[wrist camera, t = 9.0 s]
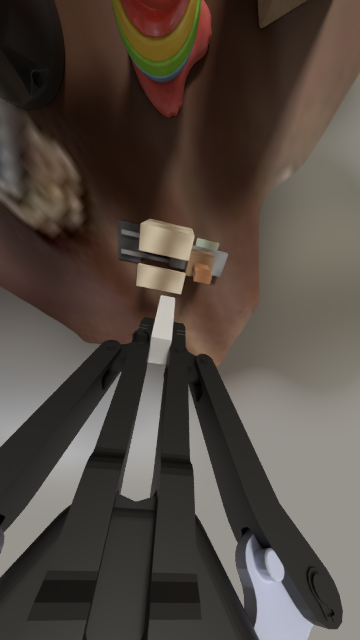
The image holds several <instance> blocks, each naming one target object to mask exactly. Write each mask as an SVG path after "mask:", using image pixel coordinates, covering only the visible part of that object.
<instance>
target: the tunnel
mask: <svg viewBox="0 0 360 640" xmlns="http://www.w3.org/2000/svg"><path fill="white" fill-rule="evenodd" d="M193 241H194V233H193V229H191V228H187V227H183V226H179V225H174V224H170V223H166V222H162V221H158V220H153V219H148V220H146V221H144V222H142V223H141V225H140V224H136V223H131V222H127V221H123V220H119V258H118V259H123V260H127V261H132V262H137V263H139V264H138V270H137V284H136V286H141V287H146V288H151V289H156V290H161V291H166V292H172V293H177V294H181V292H182V288H183V283H184V279H185V275H186V273H184V272H179V271H174V270H170V269H165V268H160V267H155V266H151V265H146V264H141V258H146V259H151V260H156V261H160V262H165V263H170V259H169V258H164V257H160V256H155V255H151V254H146V253H142V251H145V252H150V253H155V254H159V255H164V256H168V257H173V258H177V259H182V260H187V261H189V258H190V254H191V249H192V245H193ZM194 246H199V247H203V248H207V249H212V250H216V251H217V249H218V246H219V243H217V242H212V241H208V240H204V239H200V238H197V241H196V245H194Z"/></svg>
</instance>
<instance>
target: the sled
mask: <svg viewBox="0 0 360 640" xmlns="http://www.w3.org/2000/svg"><path fill="white" fill-rule="evenodd" d="M227 257H228V253H225V252H220V251H216V250H212V249H207V248H203V247H199V246H194V245H192V249H191V254H190V258H189V261H187V260H182V259H177V258H173V257H171V259H170V265H169V266H170V267H175V268H180V269H185V273H186V275H187V276H192V277H193V281H195V282H200V283H205V284H209V285H210V282H211V279H212V275H213V276H217V277H220V276H221V274H222V271H223V268H224V265H225V262H226V259H227Z"/></svg>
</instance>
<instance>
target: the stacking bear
mask: <svg viewBox="0 0 360 640" xmlns="http://www.w3.org/2000/svg"><path fill="white" fill-rule="evenodd" d="M112 5H113V10H114V15H115V19H116V22H117V26H118V29H119V32H120V35H121V38H122V41H123V43H124V45H125V48H126V50H127V52H128V54H129V55H130V57H131V59H132V63H133V66H134V69H135V72H136V74H137V77H138V79H139V82H140V84H141V86H142V88H143V90H144V92H145V93H146V95H147V97H148V98H149V100H150V101H151V102H152V104H153V105H154V106H155V107H156V108H157V110H158V111H159V112H160V113H162V114H163V115H164V116H166V117H168V118H170V117H171V116H176V115H177V114H178V111H179V109H181V107H182V105H183V94H184V86H185V81H186V78H187V75H188V73H189V71H190V69H191V67H192V66H193V65H194V64H195V63H196V62H197V61H198V60H199V59H201V58H202V57H203V56H204V55H205V54H206V52H207V49H208V44H209V43H210V41H211V36H212V29H211V14H210V11H209V9H208V7H207V5H206V3H205V1H204V0H112Z"/></svg>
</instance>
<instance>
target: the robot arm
mask: <svg viewBox="0 0 360 640" xmlns="http://www.w3.org/2000/svg"><path fill="white" fill-rule="evenodd" d="M63 71H64V42H63V35H62V29H61V24H60V19H59V15H58V12H57V8H56V5H55V2H54V0H0V97H1V98H2V99H4V100H6V101H8V102H9V103H11V104H13V105H15V106H18V107H20V108H24V109H39V108H42V107H44V106H46V105H47V104H49V103H50V102H51V101H52V100H53V98H54V97H55V96H56V94H57V92H58V90H59V87H60V85H61V81H62V77H63ZM174 307H175V298H174V297H168V296H163V295H161V297H160V301H159V305H158V310H157V314H156V318H155V319H152V318H146V317H145V318H143V319H142V320H141V323H140V326H139V329H138V330H136V331H135V332H134V333H133V339H132V342H131V343H128V344H120V343H119V342H118V341H116V340H108V341H105V342H103V343H102V344H101V345H100V346H99V347H98V348H97V349H96V350H95V351H94V352H93V353H92V354H91V355H90V356H89V358H87V359H86V360H85V362H83V363H82V365H81V366H80V367H79V368H78V369H77V370H76V371H75V372H74V373H73V374H72V375H71V376H70V377H69V378H68V379H67V380H66V381H65V382H64V383H63V384H62V385H61V386H60V387H59V388H58V389H57V390H56V391H55V392H54V393H53V394H52V395H51V396H50V397H49V398H48V399H47V400H46V401H45V402H44V403H43V404H42V405H41V406H40V407H39V408H38V409H37V410H36V411H35V412H34V413H33V414H32V415H31V416H30V417H29V418H28V420H27V421H26V422H25V423H24V424H23V425H22V426H21V427H20V428H19V429H18V430H17V431H16V432H15V433H14V434H13V435H12V436H11V437H10V438H9V439H8V440H7V441H6V442H5V443H4V444H3V445H2V446H1V447H0V553H1V550H2V547H3V544H4V532H5V530H6V529H7V528H8V527H9V526H10V525H11V524H12V523H13V522H14V520H15V519H16V518H17V517H18V516H19V514H20V513H21V512H22V511H23V510H24V509H25V507H26V506H27V505H28V503H29V502H30V500H31V499H32V498H33V496H34V495H35V494H36V492H37V491H38V490H39V488H40V487H41V485H42V484H43V482H44V481H45V479H46V478H47V477H48V475H49V474H50V472H51V471H52V469H53V468H54V466H55V465H56V464H57V462H58V461H59V459H60V458H61V456H62V455H63V453H64V452H65V451H66V449H67V448H68V446H69V445H70V443H71V441H73V439H74V438H75V436H76V435H77V433H78V432H79V430H80V429H81V427H82V426H83V425H84V423H85V422H86V420H87V419H88V417H89V416H90V415H91V413H92V412H93V410H94V409H95V407H96V406H97V405H98V403H99V402H100V400H101V399H102V397H103V396H104V394H105V393H106V392H107V390H108V389H109V387H110V386H111V384H112V383H113V382H114V380H115V379H116V377H117V376H118V374H119V373H120V372H122V373H121V376H120V379H119V381H118V384H117V387H116V390H115V393H114V396H113V398H112V401H111V404H110V407H109V410H108V412H107V416H106V418H105V421H104V424H103V427H102V429H101V432H100V435H99V438H98V441H97V444H96V447H95V449H94V452H93V453H92V454H91V456H90V457H89V459H88V461H87V464H86V466H85V469H84V472H83V474H82V477H81V480H80V483H79V485H78V488H77V491H76V493H75V496H74V499H73V502H72V504H71V505H70V506H69V507H67V508H66V509H65V510H64V511H63V512H61V513H60V514H59V515H58V516H57V517H56V518H55V519H54V521H52V523H51V524H50V525H49V526H48V527H47V528H46V529H45V530H44V531H43V532H42V533H41V534H40V535H39V536H38V538H37V539H36V540H35V541H34V542H33V543H32V544H31V545H30V546H29V547H28V548H27V549H26V550H25V552H24V553H23V554H22V555H21V556H20V557H19V558H18V559H17V560H16V561H15V562H14V563H13V564H12V566H11V567H10V568H9V569H8V570H7V571H6V572H5V573H4V574H3V575H2V576H1V577H0V640H307V639H308V636H309V633H310V631H311V628H312V626H313V625H317V626H321V627H324V628H327V629H338V627H339V626H340V624H341V623H342V613H343V610H342V605H341V600H340V595H339V593H338V590H337V588H336V585H335V583H334V581H333V579H332V577H331V576H330V574H329V572H328V571H327V569H326V567H325V566H324V565H323V563H322V562H321V560H320V559H319V558H318V556H317V555H316V554H315V552H314V551H313V549H312V548H311V547H310V545H309V544H308V542H307V541H306V540H305V538H304V537H303V535H302V534H301V533H300V531H299V530H298V528H297V527H296V526H295V524H294V523H293V521H292V520H291V519H290V518H289V516H288V515H287V513H286V512H285V510H284V509H283V508H282V506H281V505H280V504H279V502H278V499H277V497H276V495H275V493H274V491H273V489H272V486H271V484H270V482H269V480H268V478H267V476H266V474H265V471H264V469H263V467H262V465H261V463H260V461H259V458H258V457H257V454H256V452H255V450H254V448H253V446H252V443H251V441H250V439H249V437H248V435H247V433H246V431H245V429H244V426H243V424H242V422H241V420H240V418H239V416H238V414H237V411H236V409H235V407H234V405H233V403H232V401H231V399H230V396H229V394H228V392H227V390H226V388H225V386H224V383H223V381H222V379H221V377H220V375H219V373H218V370H217V368H216V366H215V364H214V362H213V360H212V358H211V357H209V356H208V355H206V354H199V355H198V356H195V355H193V354H191V353H189V352H188V351H187V348H186V342H185V326H184V325H183V324H182V323H176V322H173V319H174ZM148 362H150V363H158V364H163V365H166V368H165V372H164V383H163V393H162V401H161V410H160V420H159V429H158V438H157V446H156V456H155V465H154V474H153V480H152V485H151V493H150V498H147V499H144V500H141V501H137V502H135V501H133V500H131V499H129V498H126V497H124V496H122V495H120V493H121V488H122V483H123V477H124V472H125V467H126V462H127V458H128V453H129V448H130V443H131V439H132V434H133V430H134V425H135V420H136V416H137V411H138V406H139V401H140V396H141V392H142V387H143V383H144V378H145V373H146V369H147V363H148ZM188 384H189V387H190V391H191V394H192V397H193V401H194V405H195V408H196V412H197V415H198V419H199V422H200V426H201V429H202V433H203V436H204V440H205V443H206V446H207V450H208V453H209V457H210V461H211V464H212V468H213V471H214V475H215V478H216V482H217V485H218V489H219V492H220V495H221V499H222V502H223V506H224V508H225V512H226V515H227V518H228V521H229V524H230V526H231V529H232V531H233V533H234V536H235V538H236V540H237V542H238V545H237V547H236V554H235V557H236V558H235V561H236V567H237V571H238V574H239V577H240V581H241V583H242V587H243V593H244V608H243V606H242V604H241V602H240V600H239V598H238V596H237V594H236V592H235V590H234V588H233V586H232V584H231V582H230V580H229V578H228V576H227V574H226V572H225V570H224V568H223V566H222V564H221V562H220V560H219V558H218V556H217V554H216V552H215V550H214V548H213V546H212V544H211V542H210V540H209V538H208V536H207V534H206V532H205V530H204V528H203V526H202V524H201V522H200V520H199V519H198V517H197V516H196V515H195V504H194V503H195V502H194V476H193V467H192V464H191V462H190V448H189V406H188Z"/></svg>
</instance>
